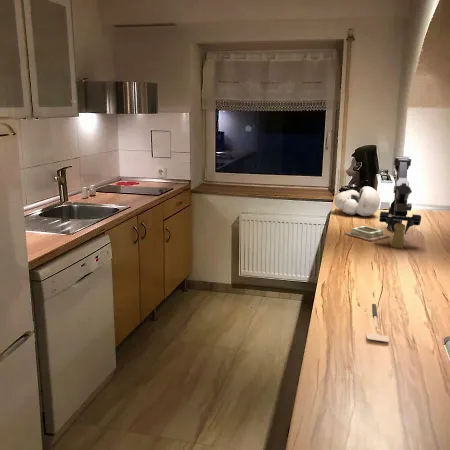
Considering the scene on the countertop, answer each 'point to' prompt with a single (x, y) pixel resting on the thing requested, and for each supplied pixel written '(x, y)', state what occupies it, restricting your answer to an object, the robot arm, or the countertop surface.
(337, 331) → the countertop surface
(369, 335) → the spatula
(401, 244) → the cork
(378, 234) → the shaker holder
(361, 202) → the white lobed sculpture
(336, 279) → the countertop surface
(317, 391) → the countertop surface
